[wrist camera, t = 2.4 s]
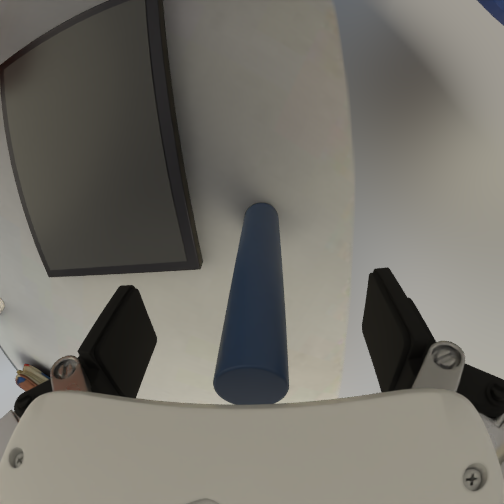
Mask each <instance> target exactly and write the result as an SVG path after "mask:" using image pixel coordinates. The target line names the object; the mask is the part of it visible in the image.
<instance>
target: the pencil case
mask: <svg viewBox="0 0 504 504" xmlns="http://www.w3.org/2000/svg"><path fill="white" fill-rule="evenodd" d="M17 373H18V375H17V376H16V384H17V385H18V386H19V387H20V388H22V389H23V390H25V391H28V390H30V389H32V388H33V387H35V386H37V385H39V384H41V383H43V382H45V381H47V380H49V379H51V378H49V377H48V376H47V375H45V374H44V373H42V372H41V371H40V370H38V369H37V368H35V367H33V366H31V365H29V364H24V368H23V371H22V370H18V371H17Z"/></svg>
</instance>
